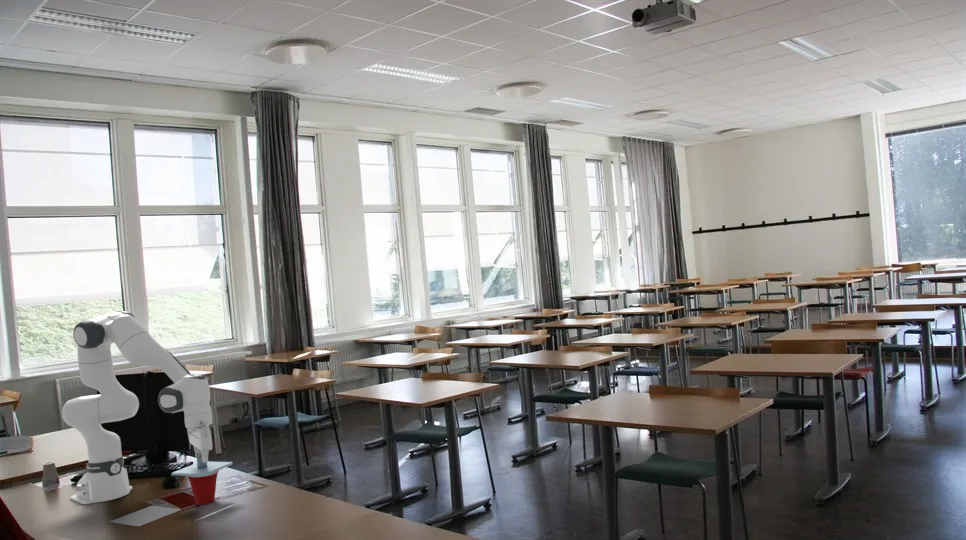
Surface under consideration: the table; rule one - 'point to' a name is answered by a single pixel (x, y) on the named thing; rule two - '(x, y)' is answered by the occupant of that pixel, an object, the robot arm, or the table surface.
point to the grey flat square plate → (145, 515)
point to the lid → (201, 468)
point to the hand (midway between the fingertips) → (202, 459)
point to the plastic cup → (204, 488)
